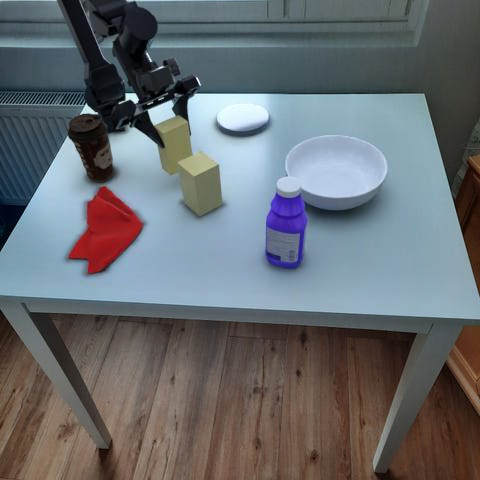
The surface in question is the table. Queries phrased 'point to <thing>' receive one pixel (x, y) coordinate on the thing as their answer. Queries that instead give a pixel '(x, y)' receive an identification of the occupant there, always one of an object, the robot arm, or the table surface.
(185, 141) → the butter slice
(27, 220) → the table surface
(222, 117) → the saucer
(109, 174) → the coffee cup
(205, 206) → the butter block
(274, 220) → the bottle
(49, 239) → the table surface
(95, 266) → the cloth
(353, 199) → the serving bowl
